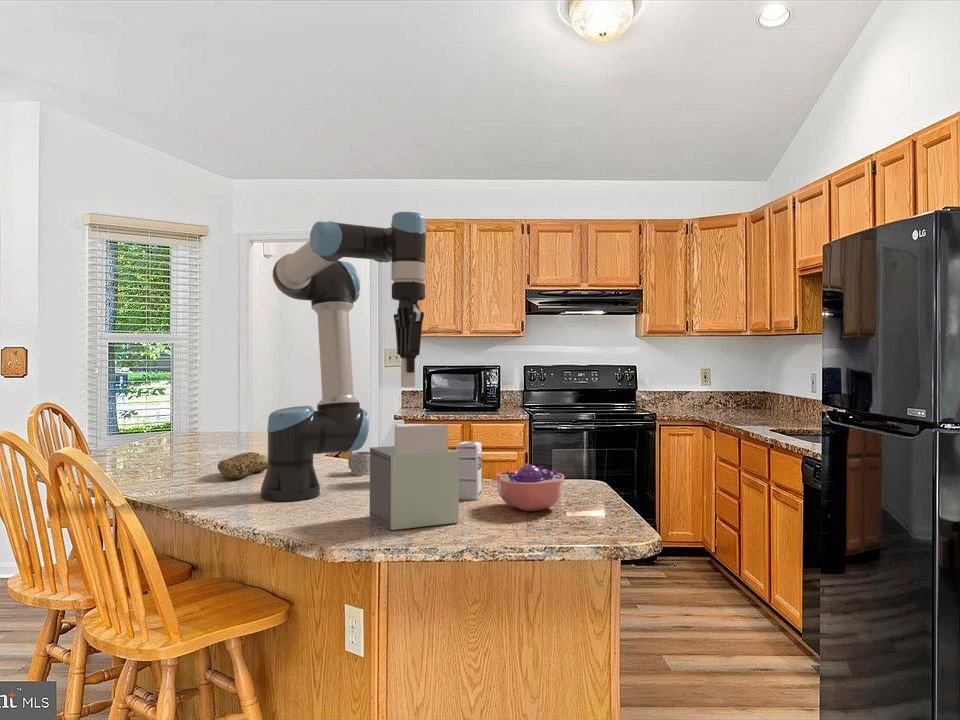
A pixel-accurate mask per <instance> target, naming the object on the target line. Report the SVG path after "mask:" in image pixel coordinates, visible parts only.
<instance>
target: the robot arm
mask: <svg viewBox="0 0 960 720" xmlns="http://www.w3.org/2000/svg"><path fill="white" fill-rule="evenodd" d="M425 219H426V218H425V216H424V215H423V214H422V213H420V212H417V211H399V212H395V213H393V215H392V218H391V223H390V227H379V226H378V227H377V226H370V225H368V226H367V225H360V224H359V225H358V224H350V223H341V222H334V221H332V220H331V221H316V222H315V223H314V224H313V225H312V228H311V230H310V234H309V240H308V241H307V242H306V243H304V244H303V245H302V246H301V247H299V248H298V249H297V250H296V251H294V252H293V253H287V254H284V255H283V256H282V257H280V258H279V259H278V260H277V261H275V264H274V266H273V270H272V279H273V282H274V285H275V286H276V288H277V289H278V290H279V291H280V292H281V293H282V294H283V295H285V296H286V297H289V298H291V299H295V300H300V301H310V302H311V305H310V306H311V310H312V311H314V312H315V313H316V314H317V327H318V328H317V329H318V345H319V346H318V347H319V361H320V363H319V364H320V367H319V368H320V378H321V379H320V380H321V381H320V383H321V400H319V402H318V403H316V410H315V409H314V407H313V406H311V405H302V406H301V405H300V406H290V407H284V408H281V409H276V410H274V411H272V412H270V414H269V416H268V417H267V418H268V422H267V429H266V431H267V457H268V469H267V470H266V472H265V474H264V478H263V482H262V483H261V484H262V485H261V487H260V498H261V499H263V500H267V501H272V502H274V501H276V502H291V501H292V502H293V501H303V500H309V499H312V498H317V497H318V496H320V495H321V489H320V488H321V486H320V482H319V480H318V476H317V474H316V470H315V467H314V455H321V454H322V455H323V454H333V453H335V454H336V453H348V452H357V451H358V450H360V449H361V448H363V447H364V445H365V443H366V441H367V439H368V436H369V431H370V419H369V415H368V412H367V410H366V409H364V408H362V407H361V403H360V401H359V400H358V399H357V398H356V397H355V395H354V381H353V379H354V378H353V367H352V366H353V365H352V364H353V363H352V348H351V333H350V331H351V330H350V316H349V315H350V313H349V312H350V311H351V310H352V309H353V308H354V303H355V302H357V301H358V300H359V297H360V295H361V294H360V291H361V281H360V277H359V276H360V275H359V273H358V271H357V269H356V267H355V266H354V265H353V264H352V263H351V262H348V261H342V260H341V259H343V258H350V259H351V258H353V259H362V260H363V259H364V260H374V261H375V262H377V263H390V262H391V266H390V267H391V270H390V271H391V274H390V275H391V277H390V278H391V281H393V283H392V284H391V300H395V301H398V306H397V309H396V310H397V311H396V312H397V313H395V314H394V315H393V320H394V325H395V337H396V338H395V340H396V354H397V355H398V356H399V358H400V360H401V361H400V364H401V365H400V371H401V372H400V388H404V389H405V388H416V359H417V356H419V355H420V353H421V352H420V349H421V341H422V339H421V338H422V329H423V321H424V316H425V313H424V311H420V306H419V305H420V304H419V302H420V301H424V300H425V299H426V284H425V283H424V282H425V280H426V273H427V271H428V269H427V268H426V244H427V243H426V237H427V235H426V233H427V229H426V220H425Z"/></svg>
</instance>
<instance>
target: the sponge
mask: <svg viewBox="0 0 960 720" xmlns="http://www.w3.org/2000/svg"><path fill="white" fill-rule="evenodd" d="M267 469H268V456H266V455H263V454H260V453H259V452H252V451H251V452H244V453H239V454H237V455H234V456H231V457H229V458H226V459H222V460H220V461H219V462H218V464H217V470H218V472H220V473H221V474H222V476H224V477H226V478H230V479H237V480H238V479H243V478H245V477H249V475H251V474H253V473H257V472H264V471H267Z"/></svg>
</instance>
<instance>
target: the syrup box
mask: <svg viewBox="0 0 960 720" xmlns="http://www.w3.org/2000/svg"><path fill="white" fill-rule="evenodd" d="M482 447H483V446H482V442H481V441H480V442H479V441H472V440H471V441H468V440H467V441H461V442H460V443H458V444H456V447H455V448H456V449H455V450H458V451H459V500H465V501H467V500H468V501H469V500H471V501H478V500H479V499H480V498H481V497H482V496H483V467H482V466H483V463H482V458H483V457H482V456H483V455H482V450H483V449H482Z"/></svg>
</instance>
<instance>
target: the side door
mask: <svg viewBox="0 0 960 720" xmlns="http://www.w3.org/2000/svg"><path fill="white" fill-rule="evenodd" d="M394 446H395V454H391V484H390V529H391V530H392V531H394V530H404V529H412V528H421V527H431V526H441V525H448V524H457V523H459V520H460V518H459V517H460V515H459V511H460V510H459V509H460V507H459V506H460V503H459V501H460V499H459V451H458V450H456V449H455V450H454V449H452V451H448V449H449V424H447V423H441V424H440V423H439V424H426V425H414V426H395V425H394ZM391 530H390V531H391Z"/></svg>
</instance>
